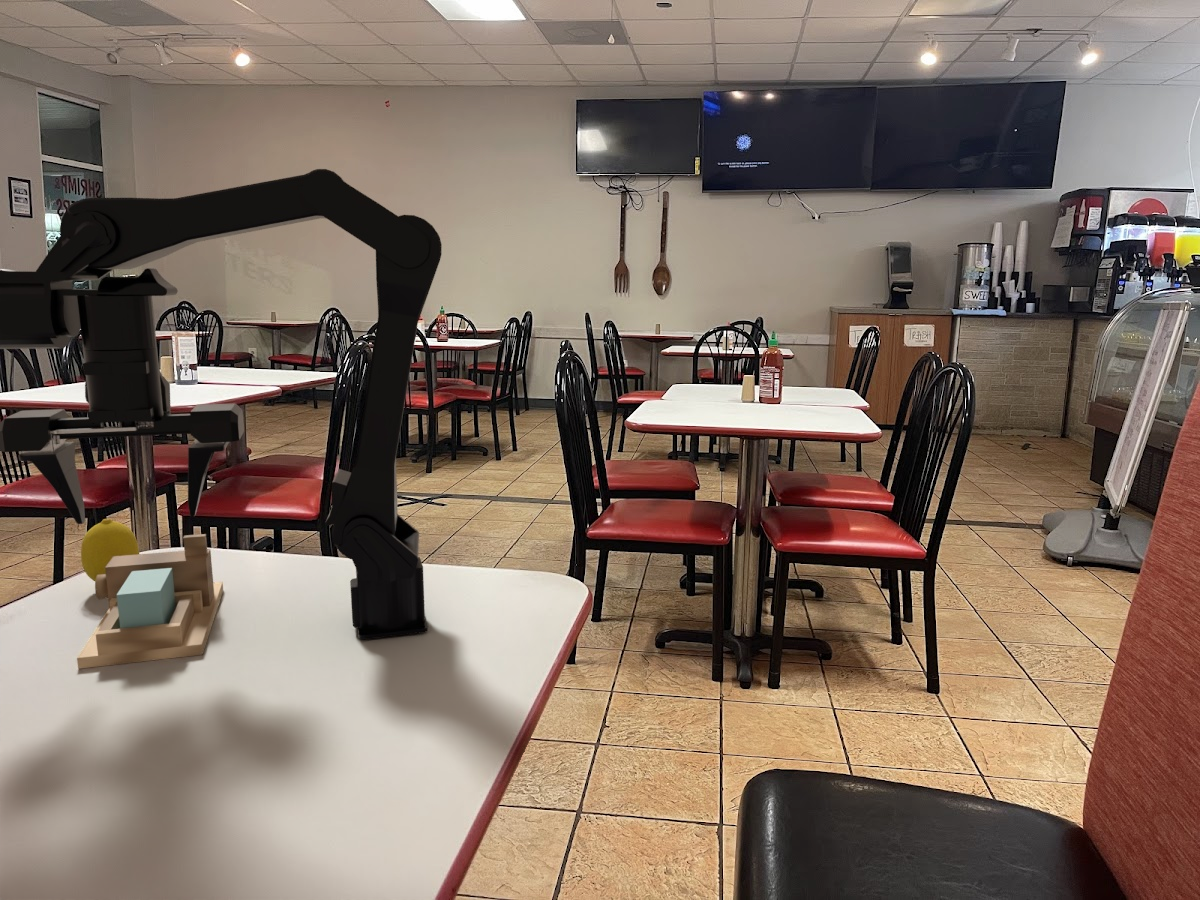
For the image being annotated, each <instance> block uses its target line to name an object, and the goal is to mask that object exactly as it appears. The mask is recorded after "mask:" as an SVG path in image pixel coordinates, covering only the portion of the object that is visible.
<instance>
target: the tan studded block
mask: <svg viewBox="0 0 1200 900" xmlns="http://www.w3.org/2000/svg"><path fill="white" fill-rule="evenodd" d="M182 539H183V548H184V550H178V551H164V552H153V553H139V554H137V555H125V556H113V558H112V559H111V560H110V562H109V563H108V564H107V566H106V567H105V571H106V574H102V575H97V577H96V581H94V583H95V584H94V589H95V595H96V598H97V600H103V599H108V606H109V607H110V603H109V602H110V600H111V599H112V598H117V593H118V592H119V590H120V589H121V587H122V586H123V584H124V583H125V581H126V580H127V578H128V576H129V575H130V573H131V572H132V571H141V570H153V569H164V568H172V573H173V583H174V593H175V592H186V591H196V590H201V592H202V603H203V607H205V606H210V605H211V602H212V599H213V596H214V585H213V583H214V575H213V564H212V563H213V562H212V554H211V551H212V550H211V548H208V543H207V533H204V534H203V533H202V534H188V535H187V534H186V535H183V538H182Z"/></svg>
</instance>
